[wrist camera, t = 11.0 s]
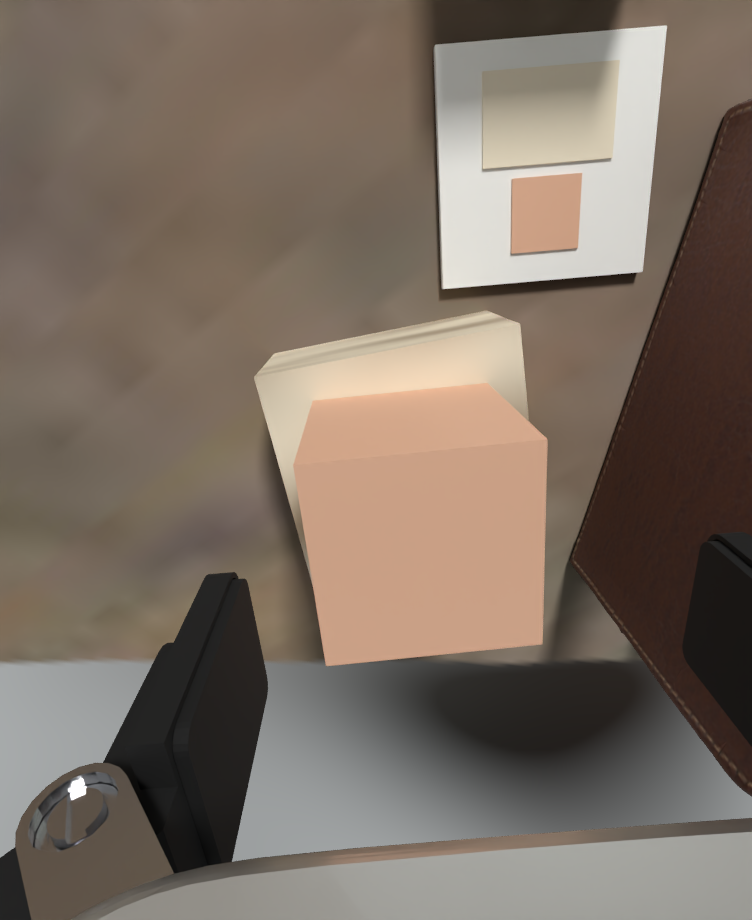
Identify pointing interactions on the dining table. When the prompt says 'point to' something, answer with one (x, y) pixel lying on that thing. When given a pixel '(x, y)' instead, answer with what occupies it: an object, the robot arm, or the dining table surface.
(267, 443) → the dining table surface
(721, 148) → the letter holder
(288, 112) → the dining table surface
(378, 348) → the birch block
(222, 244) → the dining table surface
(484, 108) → the card
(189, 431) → the dining table surface
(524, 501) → the terracotta cube
